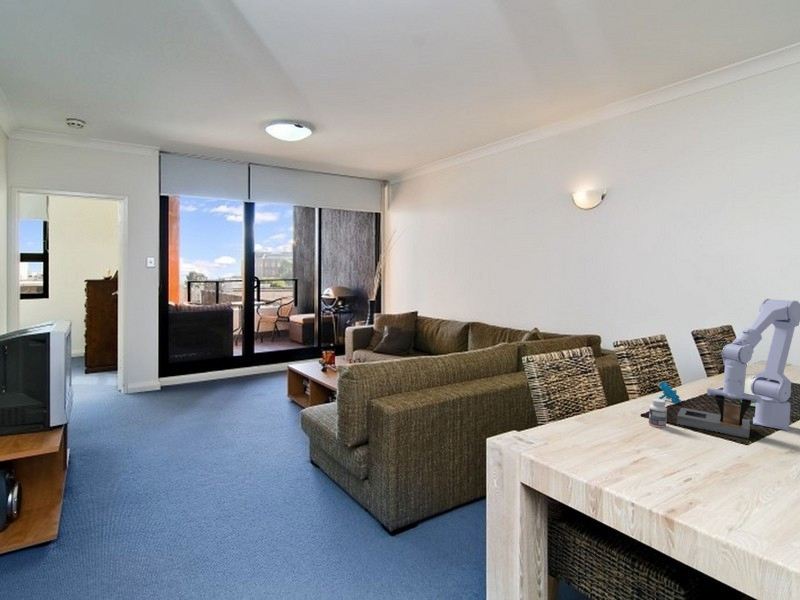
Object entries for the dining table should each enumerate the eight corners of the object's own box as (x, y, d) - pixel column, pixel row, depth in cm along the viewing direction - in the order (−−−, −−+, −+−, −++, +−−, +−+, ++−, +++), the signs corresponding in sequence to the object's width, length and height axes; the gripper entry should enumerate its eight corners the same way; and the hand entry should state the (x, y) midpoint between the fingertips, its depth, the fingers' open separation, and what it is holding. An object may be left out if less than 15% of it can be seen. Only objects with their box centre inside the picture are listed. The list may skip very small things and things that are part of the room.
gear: (674, 402, 177) (658, 380, 182) (661, 409, 180) (646, 388, 186) (686, 401, 183) (670, 380, 189) (674, 408, 186) (659, 388, 192)
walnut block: (739, 425, 152) (740, 405, 151) (738, 429, 148) (740, 408, 148) (723, 422, 155) (724, 402, 154) (722, 426, 151) (724, 405, 151)
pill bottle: (650, 421, 158) (651, 396, 158) (667, 425, 155) (668, 400, 154) (647, 425, 154) (648, 400, 153) (664, 429, 151) (666, 403, 150)
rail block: (749, 428, 153) (749, 419, 153) (748, 438, 144) (749, 428, 144) (680, 415, 166) (681, 406, 165) (676, 424, 156) (677, 415, 156)
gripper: (707, 378, 152) (704, 417, 153) (762, 386, 143) (758, 427, 144) (708, 374, 157) (706, 412, 158) (761, 381, 148) (758, 421, 149)
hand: (731, 419), depth 151 cm, fingers closed on walnut block, 4 cm apart
